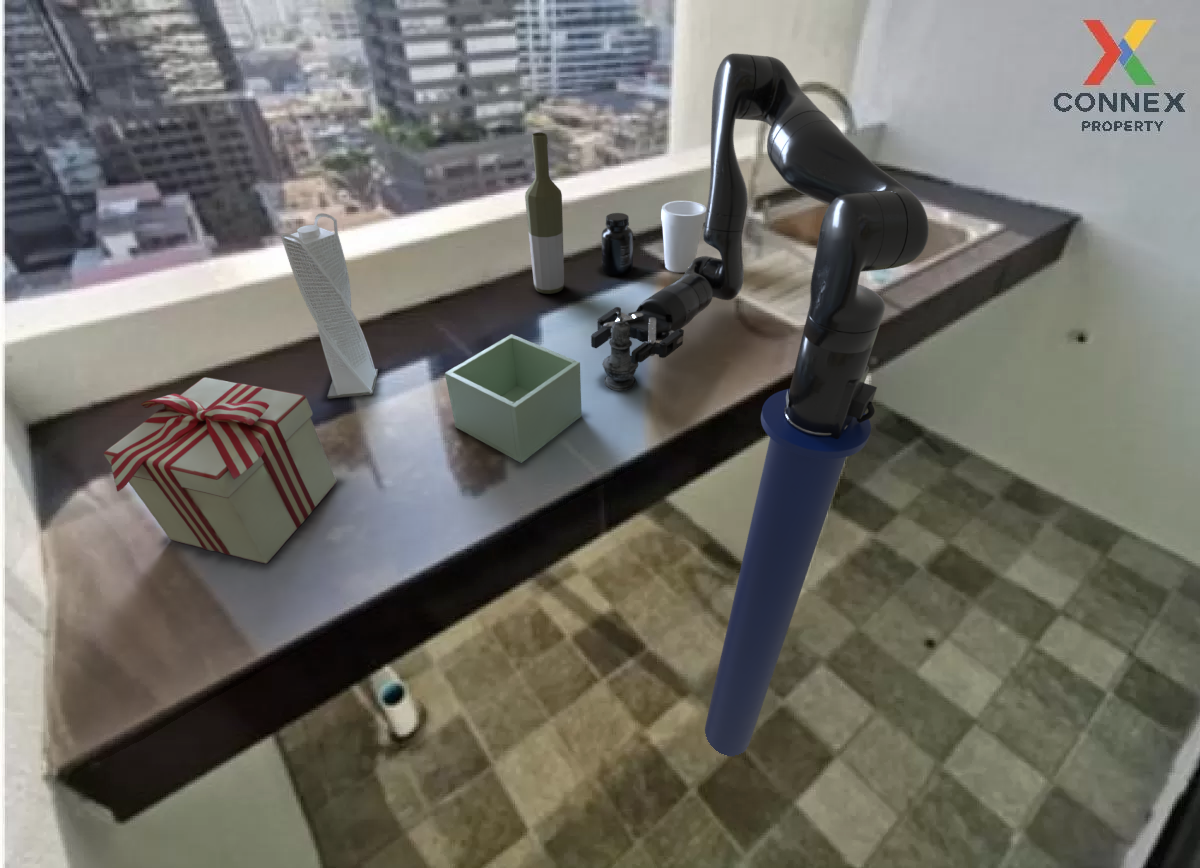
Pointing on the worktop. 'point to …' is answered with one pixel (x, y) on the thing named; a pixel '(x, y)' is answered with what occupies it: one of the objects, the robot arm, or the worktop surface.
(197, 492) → the gift box
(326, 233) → the skyscraper
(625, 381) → the dark grey turned piece
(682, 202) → the foam cup
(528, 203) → the bottle
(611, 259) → the supplement bottle
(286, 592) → the worktop surface
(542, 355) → the waste bin
